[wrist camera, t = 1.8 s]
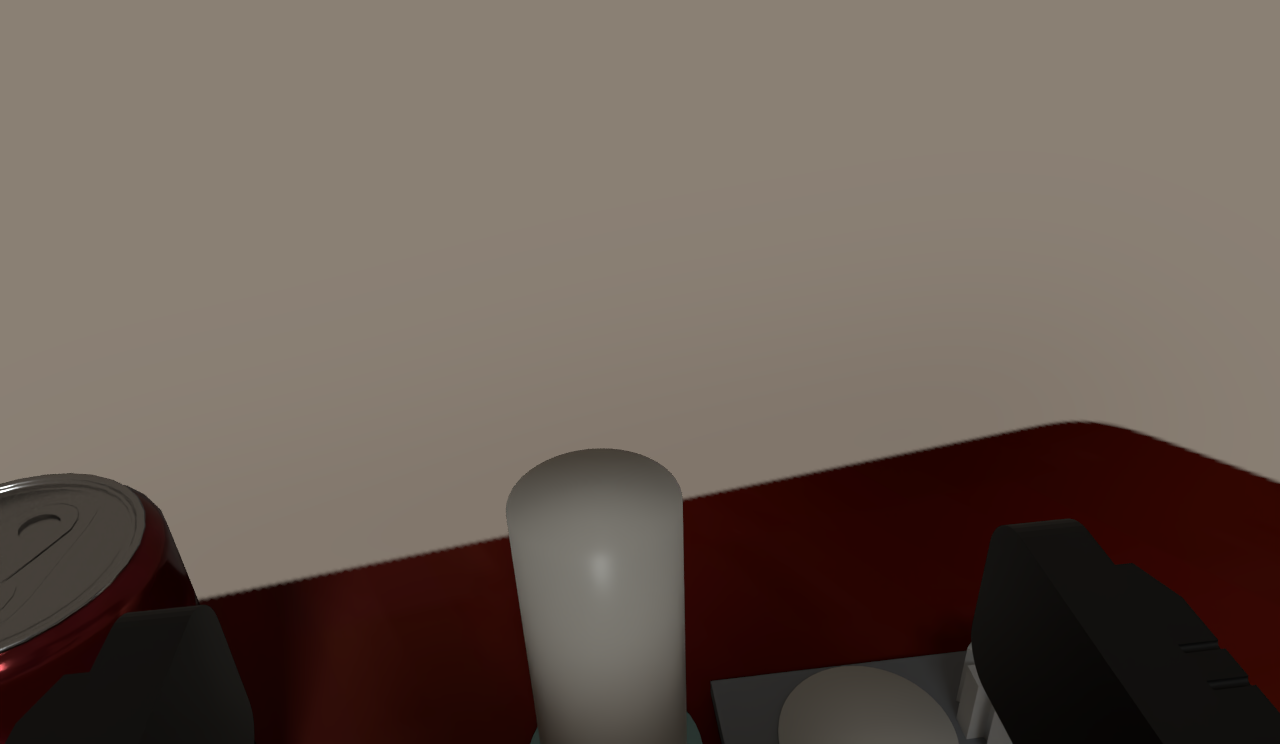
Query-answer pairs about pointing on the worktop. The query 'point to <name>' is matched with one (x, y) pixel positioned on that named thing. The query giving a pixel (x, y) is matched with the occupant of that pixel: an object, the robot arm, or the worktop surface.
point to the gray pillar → (602, 598)
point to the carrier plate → (862, 704)
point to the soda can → (75, 577)
